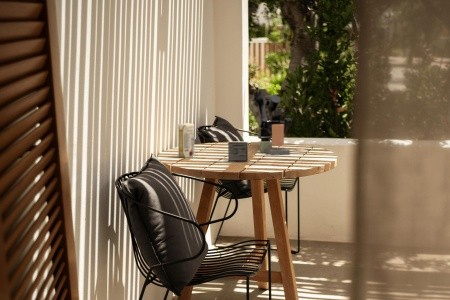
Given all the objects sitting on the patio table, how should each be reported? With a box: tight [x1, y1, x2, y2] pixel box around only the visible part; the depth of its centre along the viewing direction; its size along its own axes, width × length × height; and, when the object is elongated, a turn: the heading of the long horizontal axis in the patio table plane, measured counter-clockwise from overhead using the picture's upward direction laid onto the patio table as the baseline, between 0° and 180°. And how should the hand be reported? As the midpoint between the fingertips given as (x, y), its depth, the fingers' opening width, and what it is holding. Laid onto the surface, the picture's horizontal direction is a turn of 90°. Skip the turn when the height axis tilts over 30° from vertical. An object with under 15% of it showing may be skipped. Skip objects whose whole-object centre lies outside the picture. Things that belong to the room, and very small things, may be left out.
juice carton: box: [177, 122, 195, 159], centre depth 450 cm, size 8×9×19 cm
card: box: [291, 148, 308, 153], centre depth 477 cm, size 8×8×1 cm
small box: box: [227, 141, 249, 163], centre depth 434 cm, size 11×6×10 cm, turn 84°
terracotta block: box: [271, 124, 285, 146], centre depth 462 cm, size 6×6×12 cm
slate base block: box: [265, 147, 291, 156], centre depth 463 cm, size 11×11×3 cm
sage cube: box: [258, 140, 273, 153], centre depth 473 cm, size 6×6×6 cm
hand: (278, 134), depth 461 cm, fingers closed on terracotta block, 8 cm apart
